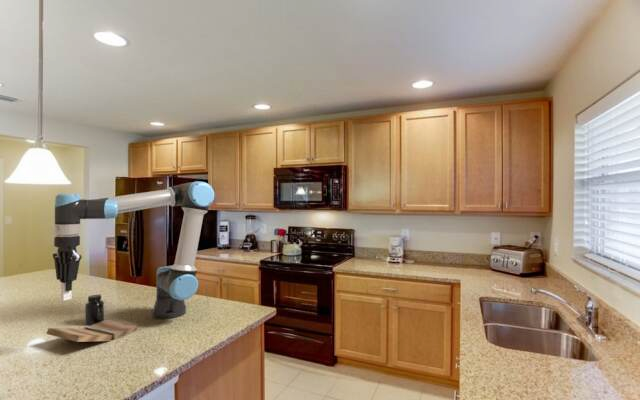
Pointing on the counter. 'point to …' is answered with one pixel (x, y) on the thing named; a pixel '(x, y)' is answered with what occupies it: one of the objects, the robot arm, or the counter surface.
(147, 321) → the counter surface
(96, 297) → the supplement bottle
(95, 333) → the oak plank
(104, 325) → the walnut board
